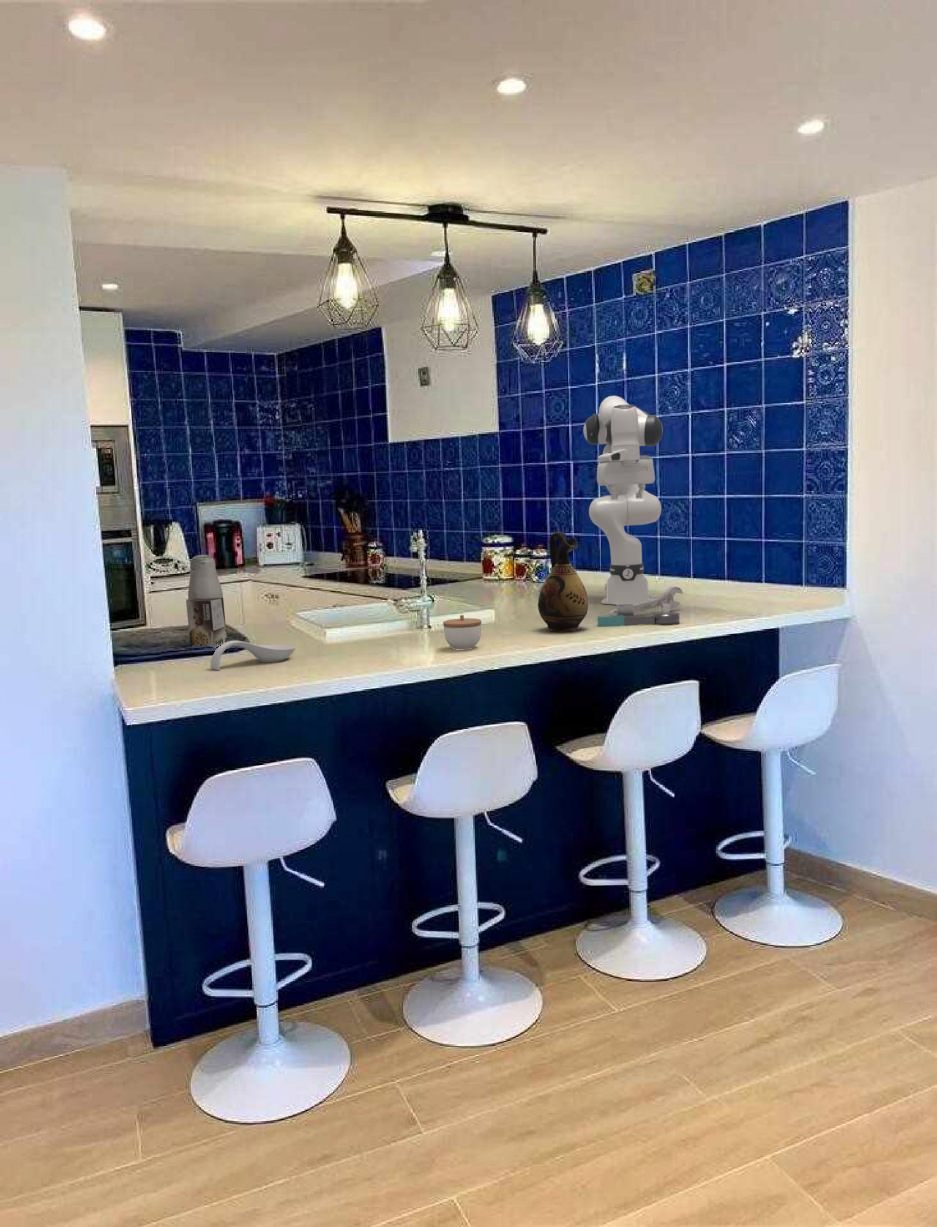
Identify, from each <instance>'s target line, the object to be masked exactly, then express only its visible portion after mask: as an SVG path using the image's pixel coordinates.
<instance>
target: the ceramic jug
mask: <svg viewBox="0 0 937 1227" xmlns="http://www.w3.org/2000/svg"><path fill="white" fill-rule="evenodd" d="M558 542H559V543H558ZM557 544H558V546H557ZM548 545H549V547H548V549H549V555H550V556H549V557H550V562H551V570H550V571H549V573H548V575H547V576H546V577H545V580H544V582H543V584H542V586H541V588H540V591H539V593H538V598H537V599H538V601H537V609H538V613H539V616H540V617H541V619H542V621H544V623H545V624H546V625H547V631H550V632H553V633H557V632H558V633H561V632H563V633H566V632H567V633H569V632H573V631H577V630H579V629H578V628H579V626H580V624H581V623H582V621H583V620H584V619H585V617H586V616H587V614H588V610H589V599H588V595H587V594H588V593H587V590H586V587H585V585H584V583H583V581H582V579H581V578H580V576H579V574H578V573H577V571H576V570H575V568H574V567H573V565H572V563H571V562H570V558H569V553H570V552H572V551H574V550H576V549H577V548H579V543H578V540H577V539H576V538H575V537H571V538H570V539H568V538H567V535H566V533H564V532H562V531H555V532H554V533H552V534H551V536H550V537H549V542H548Z"/></svg>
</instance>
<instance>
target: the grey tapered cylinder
mask: <svg viewBox="0 0 937 1227" xmlns="http://www.w3.org/2000/svg"><path fill="white" fill-rule="evenodd" d="M189 570H190V571H189V572H190V573H189V583H188V592H187V596H188V597H187V598H188V599H187V601H189V600H192V599H196V598H223V599H224V593H223V589H222V586H221V583H220V580H219V578H218V577H219V576H218V573H217V569H216V562H215V560H214V559H213V557H212V556H211V555H208V554H197V555H194V556H193V557H192V558H191V560H190V564H189Z"/></svg>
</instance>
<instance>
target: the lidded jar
mask: <svg viewBox="0 0 937 1227" xmlns="http://www.w3.org/2000/svg"><path fill="white" fill-rule="evenodd" d="M442 624H443V625H442V626H443V633H444V637H445V638H444V639H445V641H446V643H447V644H448V645H449V646H450V647H451V648H452V649H453V648H454V649H469V650H471V649H470V648H473V649H475V647H476V646H477V644H478V643H479V641H480V639H481V637H482V636H481V635H482V620H481V619H479V618H469V617H467V618H466V617H464V614H461V615H459V618H452V619H447V620H444V621H443V622H442ZM454 649H453V650H454Z"/></svg>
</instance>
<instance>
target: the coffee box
mask: <svg viewBox="0 0 937 1227" xmlns="http://www.w3.org/2000/svg"><path fill="white" fill-rule="evenodd" d="M224 602H225V601H224V597H223V598H196V599H192V600H189V601H188V600H185V603H186V605H185V606H186V614H187V615H186V616H187V624H188V633H189V634H188V635H189V642H190V643H189V644H190V646H191V645H196V646H197V645H198V646H210V647H213V648H216V647H218V646H220V645H222V644H224V643H226V642H228V637H227V625H226V615H225V604H224Z"/></svg>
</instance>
